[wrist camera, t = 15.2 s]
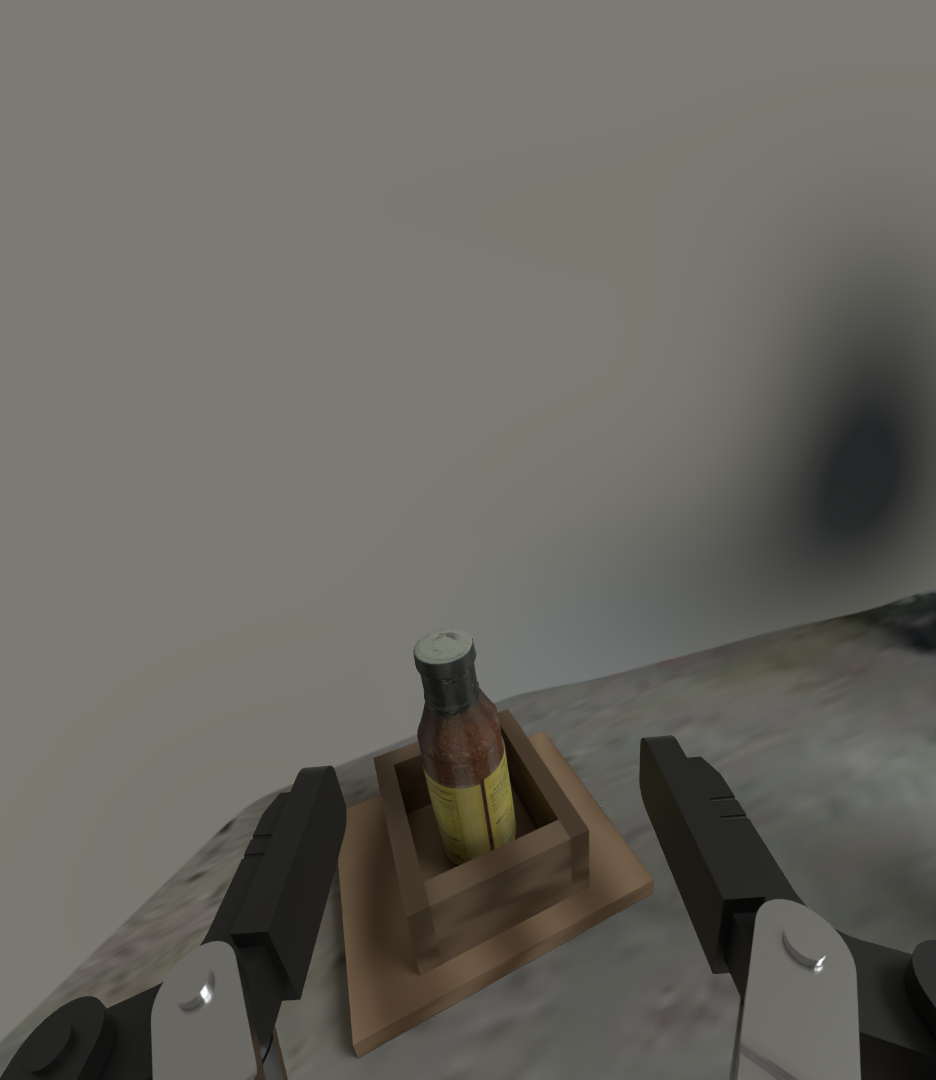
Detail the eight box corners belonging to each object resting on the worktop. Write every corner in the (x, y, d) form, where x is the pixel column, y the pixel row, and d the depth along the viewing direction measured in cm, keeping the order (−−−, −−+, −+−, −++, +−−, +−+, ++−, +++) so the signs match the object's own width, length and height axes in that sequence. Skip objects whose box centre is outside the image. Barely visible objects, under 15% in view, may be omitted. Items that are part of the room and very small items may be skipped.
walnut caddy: (544, 741, 47) (541, 685, 44) (652, 892, 32) (657, 822, 30) (337, 824, 40) (319, 763, 38) (357, 1058, 26) (331, 986, 23)
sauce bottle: (498, 797, 39) (477, 607, 32) (532, 863, 34) (515, 650, 27) (430, 827, 37) (391, 631, 30) (453, 902, 32) (413, 683, 25)
